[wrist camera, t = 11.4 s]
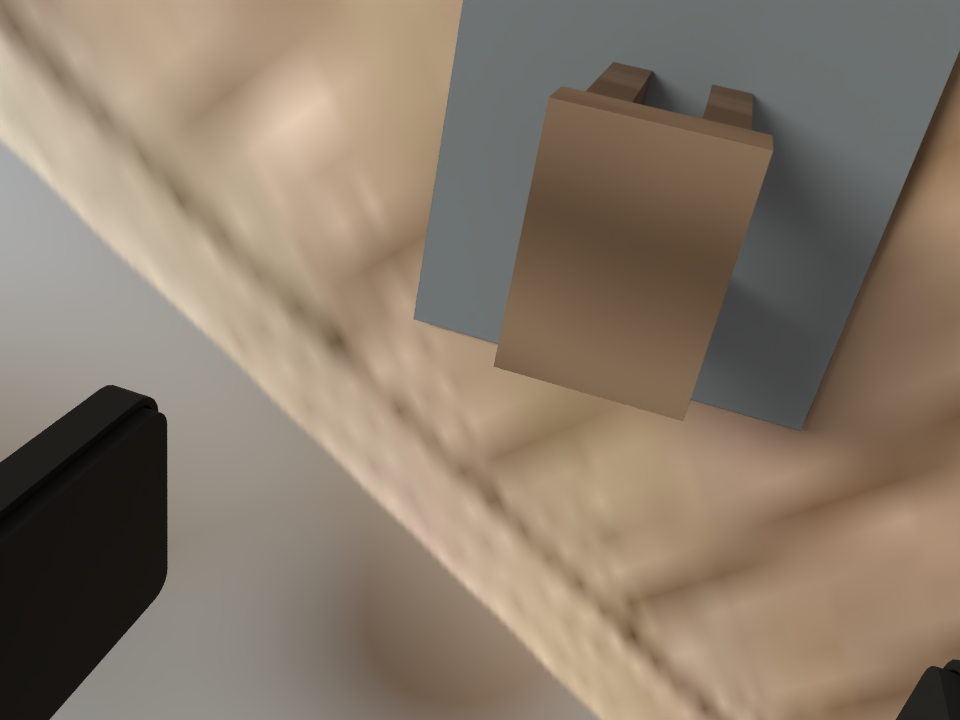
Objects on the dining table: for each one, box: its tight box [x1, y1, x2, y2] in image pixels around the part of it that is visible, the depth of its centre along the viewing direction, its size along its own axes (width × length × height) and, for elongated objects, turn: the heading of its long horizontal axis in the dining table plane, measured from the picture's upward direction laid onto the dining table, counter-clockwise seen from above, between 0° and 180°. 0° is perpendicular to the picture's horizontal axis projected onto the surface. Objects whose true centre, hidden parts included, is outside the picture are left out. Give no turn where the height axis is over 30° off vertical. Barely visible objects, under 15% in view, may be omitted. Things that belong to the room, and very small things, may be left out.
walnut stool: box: [494, 62, 773, 421], centre depth 25 cm, size 7×5×8 cm
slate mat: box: [414, 0, 960, 431], centre depth 29 cm, size 14×14×1 cm
